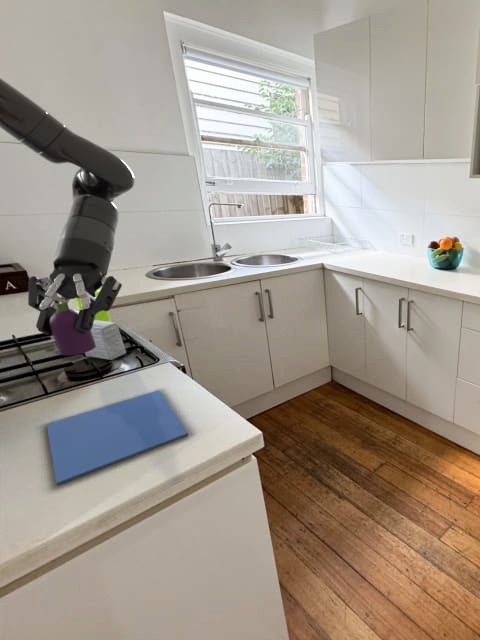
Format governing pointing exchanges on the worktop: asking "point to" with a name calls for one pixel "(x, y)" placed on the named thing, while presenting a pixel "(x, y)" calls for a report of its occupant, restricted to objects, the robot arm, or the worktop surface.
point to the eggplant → (69, 332)
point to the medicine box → (106, 341)
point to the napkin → (111, 434)
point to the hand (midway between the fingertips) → (63, 331)
